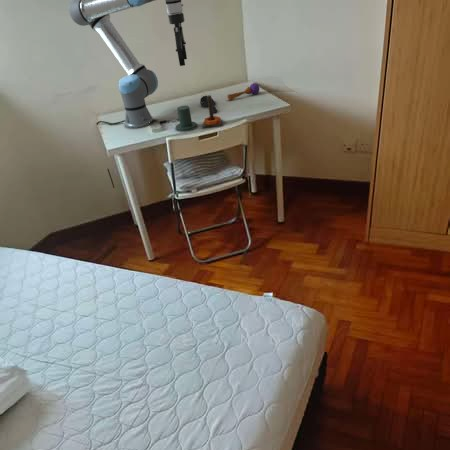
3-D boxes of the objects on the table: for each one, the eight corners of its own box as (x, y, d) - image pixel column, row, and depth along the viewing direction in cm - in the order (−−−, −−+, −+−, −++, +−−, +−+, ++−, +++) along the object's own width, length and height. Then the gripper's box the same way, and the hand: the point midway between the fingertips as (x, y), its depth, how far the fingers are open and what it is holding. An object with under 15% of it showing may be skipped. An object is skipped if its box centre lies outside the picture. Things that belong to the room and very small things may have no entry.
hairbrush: (207, 109, 229) (197, 95, 246) (208, 116, 231) (198, 102, 249) (221, 106, 230) (211, 92, 247) (222, 113, 232) (211, 99, 250)
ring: (204, 125, 215) (204, 122, 214) (205, 120, 221) (204, 117, 220) (219, 123, 215) (219, 120, 213) (220, 118, 221) (219, 115, 219)
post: (204, 128, 216) (199, 99, 206) (204, 122, 222) (200, 94, 213) (221, 126, 215) (217, 97, 206) (221, 120, 222) (217, 92, 212)
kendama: (225, 92, 245) (255, 81, 248) (228, 102, 248) (257, 92, 252) (228, 92, 240) (259, 81, 243) (231, 103, 243) (261, 92, 247)
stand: (175, 132, 216) (171, 112, 209) (177, 125, 224) (173, 105, 218) (196, 129, 215) (193, 109, 209) (197, 122, 223) (194, 102, 217)
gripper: (181, 16, 192) (189, 67, 206) (184, 8, 210) (191, 55, 224) (165, 18, 192) (174, 69, 206) (170, 10, 211) (178, 57, 225)
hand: (183, 62), depth 215 cm, fingers open, 13 cm apart
